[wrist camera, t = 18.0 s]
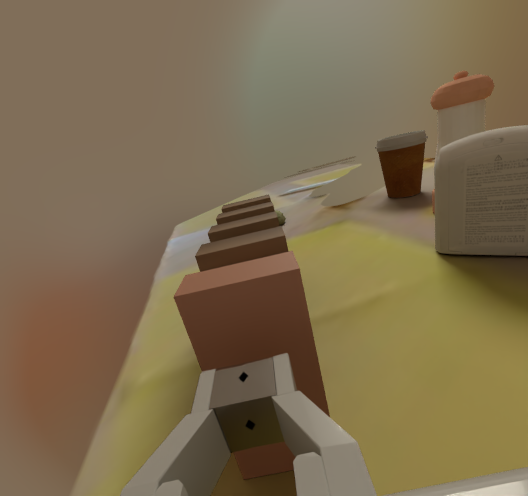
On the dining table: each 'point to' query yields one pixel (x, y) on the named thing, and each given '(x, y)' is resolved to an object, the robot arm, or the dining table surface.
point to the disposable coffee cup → (402, 163)
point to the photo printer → (483, 194)
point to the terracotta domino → (254, 333)
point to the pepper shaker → (460, 109)
